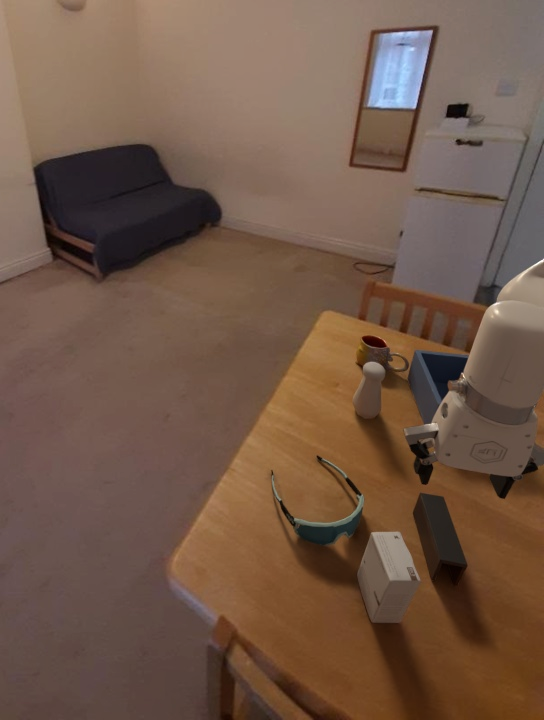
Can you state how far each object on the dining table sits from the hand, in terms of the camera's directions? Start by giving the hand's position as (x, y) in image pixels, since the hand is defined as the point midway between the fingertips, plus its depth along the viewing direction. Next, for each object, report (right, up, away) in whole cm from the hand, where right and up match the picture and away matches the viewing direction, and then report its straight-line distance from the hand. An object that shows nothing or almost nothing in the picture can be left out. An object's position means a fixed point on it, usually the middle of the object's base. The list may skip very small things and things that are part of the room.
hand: (457, 481), depth 58 cm
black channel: (+1, -15, +8) cm, 17 cm away
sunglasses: (-16, -12, +15) cm, 25 cm away
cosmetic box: (-11, -19, +2) cm, 22 cm away
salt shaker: (+1, -4, +32) cm, 32 cm away
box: (+19, -3, +31) cm, 37 cm away
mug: (+10, +3, +43) cm, 45 cm away
